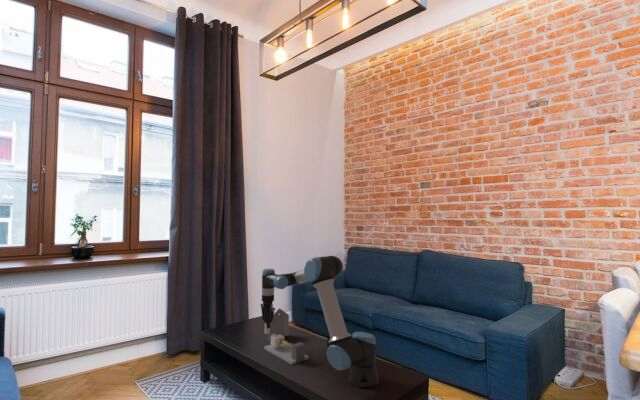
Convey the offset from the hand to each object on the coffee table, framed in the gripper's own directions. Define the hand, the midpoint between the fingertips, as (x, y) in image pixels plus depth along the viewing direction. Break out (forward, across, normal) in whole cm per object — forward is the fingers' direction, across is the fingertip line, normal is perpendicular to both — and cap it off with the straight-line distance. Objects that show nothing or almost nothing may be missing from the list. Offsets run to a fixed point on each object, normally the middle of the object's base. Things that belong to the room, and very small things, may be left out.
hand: (267, 333), depth 218 cm
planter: (+9, +12, -14) cm, 21 cm away
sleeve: (+5, -8, -2) cm, 10 cm away
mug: (+9, -36, -24) cm, 44 cm away
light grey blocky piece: (+9, -15, -4) cm, 18 cm away
